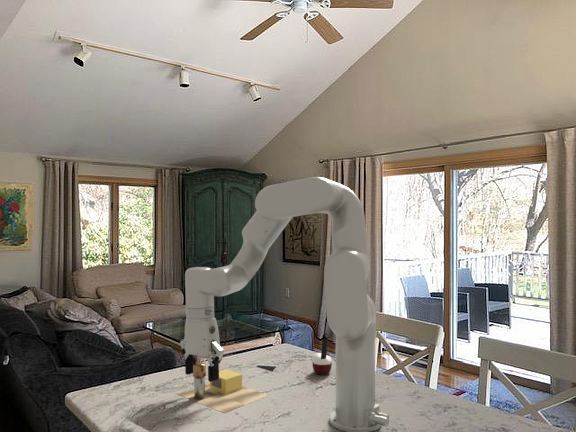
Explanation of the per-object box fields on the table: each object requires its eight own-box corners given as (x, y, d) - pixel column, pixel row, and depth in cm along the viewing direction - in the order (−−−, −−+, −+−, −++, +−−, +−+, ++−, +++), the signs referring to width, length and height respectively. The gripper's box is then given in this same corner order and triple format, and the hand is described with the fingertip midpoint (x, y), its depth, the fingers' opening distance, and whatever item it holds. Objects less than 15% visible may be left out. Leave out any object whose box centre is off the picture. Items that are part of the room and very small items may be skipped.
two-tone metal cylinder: (208, 396, 126) (208, 363, 126) (200, 400, 123) (200, 367, 123) (198, 394, 128) (198, 361, 128) (190, 398, 125) (190, 365, 125)
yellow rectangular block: (242, 388, 133) (242, 374, 133) (225, 394, 128) (225, 379, 128) (226, 382, 137) (226, 369, 137) (209, 388, 133) (209, 374, 133)
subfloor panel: (268, 399, 127) (268, 394, 128) (224, 418, 115) (224, 413, 115) (220, 383, 141) (220, 379, 141) (176, 398, 128) (176, 393, 128)
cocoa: (314, 369, 154) (313, 333, 155) (333, 370, 153) (332, 333, 154) (310, 378, 145) (308, 339, 146) (330, 378, 144) (328, 339, 144)
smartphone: (243, 381, 143) (243, 378, 143) (258, 366, 158) (258, 363, 158) (266, 383, 142) (266, 379, 142) (278, 367, 157) (278, 364, 157)
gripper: (232, 314, 123) (234, 379, 123) (191, 308, 135) (193, 367, 134) (210, 318, 118) (212, 387, 117) (169, 312, 129) (171, 374, 128)
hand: (201, 376), depth 126 cm, fingers open, 9 cm apart
